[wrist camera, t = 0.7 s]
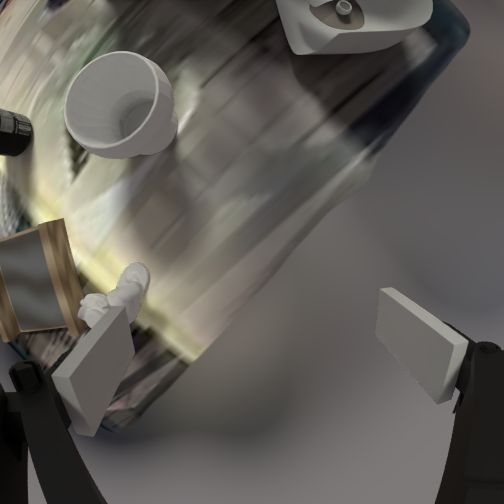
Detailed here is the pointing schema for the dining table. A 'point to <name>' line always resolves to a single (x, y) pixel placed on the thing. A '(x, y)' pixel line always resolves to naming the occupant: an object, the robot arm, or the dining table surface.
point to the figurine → (118, 295)
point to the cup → (121, 107)
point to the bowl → (352, 41)
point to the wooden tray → (39, 282)
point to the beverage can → (13, 133)
